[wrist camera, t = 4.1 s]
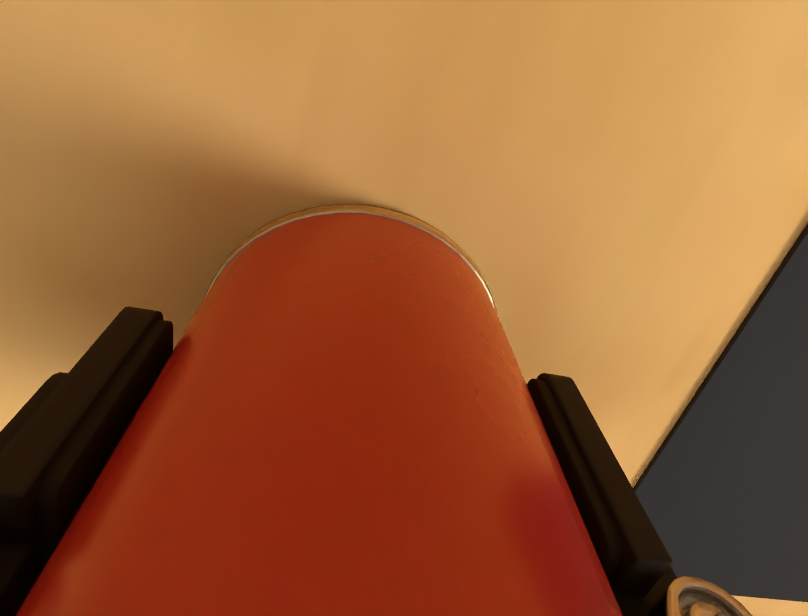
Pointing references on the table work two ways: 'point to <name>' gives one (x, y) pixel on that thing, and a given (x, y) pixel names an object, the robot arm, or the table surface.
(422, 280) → the tin can
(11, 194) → the table surface
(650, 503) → the placemat
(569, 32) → the table surface
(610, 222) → the table surface
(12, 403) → the table surface
